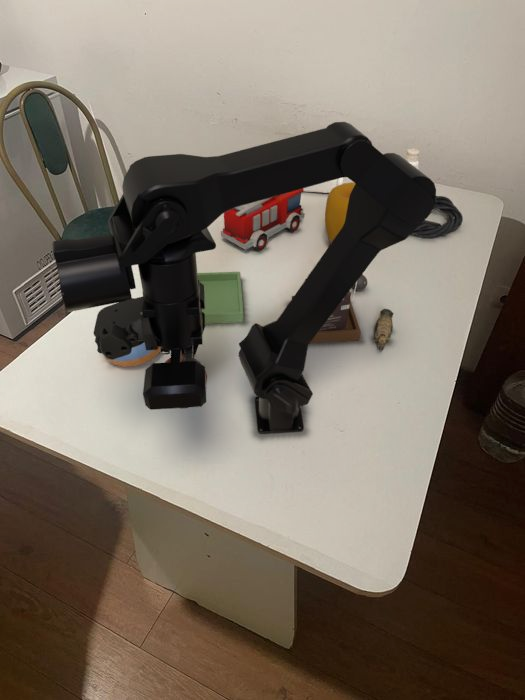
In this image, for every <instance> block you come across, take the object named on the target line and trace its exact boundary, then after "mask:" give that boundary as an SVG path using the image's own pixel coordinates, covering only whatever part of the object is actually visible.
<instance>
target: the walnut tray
mask: <svg viewBox="0 0 525 700" xmlns="http://www.w3.org/2000/svg"><path fill="white" fill-rule="evenodd" d="M293 297H294V295H291V299H292V298H293ZM360 337H361V328H360V325H359V322H358V319H357V317H356V313H355V310H354V307H353V304H352V299H350V306H349V312H348V318H347V324H346V327H345V328H341V329H337V330H331V331H318V333H317V334H316V335H315V337H314V338H313V339H312V341H311V342H310V344H313V343H314V344H316V343H317V344H319V343H339V342H359V341H360Z"/></svg>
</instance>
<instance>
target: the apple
mask: <svg viewBox="0 0 525 700" xmlns="http://www.w3.org/2000/svg"><path fill="white" fill-rule="evenodd" d="M355 184H356V183H354V182H353V181H351V182H344V183H343V184H342V185H339V186H337V187H334V188H333V189H332V190H331V192H330V193H328V195H327V198H326V203H325V211H324V225H325V231H326V234H327V238H328V240H329V242H330V244H331V243H332V241H333V240H334V239H335V237H336V236H337V234H338V233H339V232H340V230H341V229H342V227H343V225H344V223H345V219H346V213H347V207H348V202H349V196H350V194H351V192H352V190H353V188H354V186H355Z"/></svg>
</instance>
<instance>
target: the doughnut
mask: <svg viewBox="0 0 525 700" xmlns="http://www.w3.org/2000/svg"><path fill="white" fill-rule="evenodd" d="M160 350H161V347H158V350H146V347H145V342H144V343H143V344H141V345H139V346H136V347H133V348H132V351H131V353H130V354H129V355H126V356H123V357H120V358H117V359H113V360H112V359H108V358H106V357H105V355H104V354H102V355H103V356H104V358H105V359H106V361H108V362H109V363H110V364H113V365H115V366H119V367H125V368H126V367H128V368H129V367H136V366H140V365H143V364H146V363H148V362H150V361H151V360H152V359H154V358H155V357H157V356H158V355H159V353H161V351H160Z"/></svg>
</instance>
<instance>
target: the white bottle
mask: <svg viewBox="0 0 525 700" xmlns="http://www.w3.org/2000/svg"><path fill="white" fill-rule="evenodd" d="M344 183H345V177H342V178H339V179H335V180H332V181H328V182H324V183H321V184H317V185H314V186H310V187H307V188H303V192H306V193H307V192H308V193H324V194H329V193H330V192H331V190H332V189H333V188H334V187H337V186H339V185H342V184H344Z"/></svg>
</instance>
